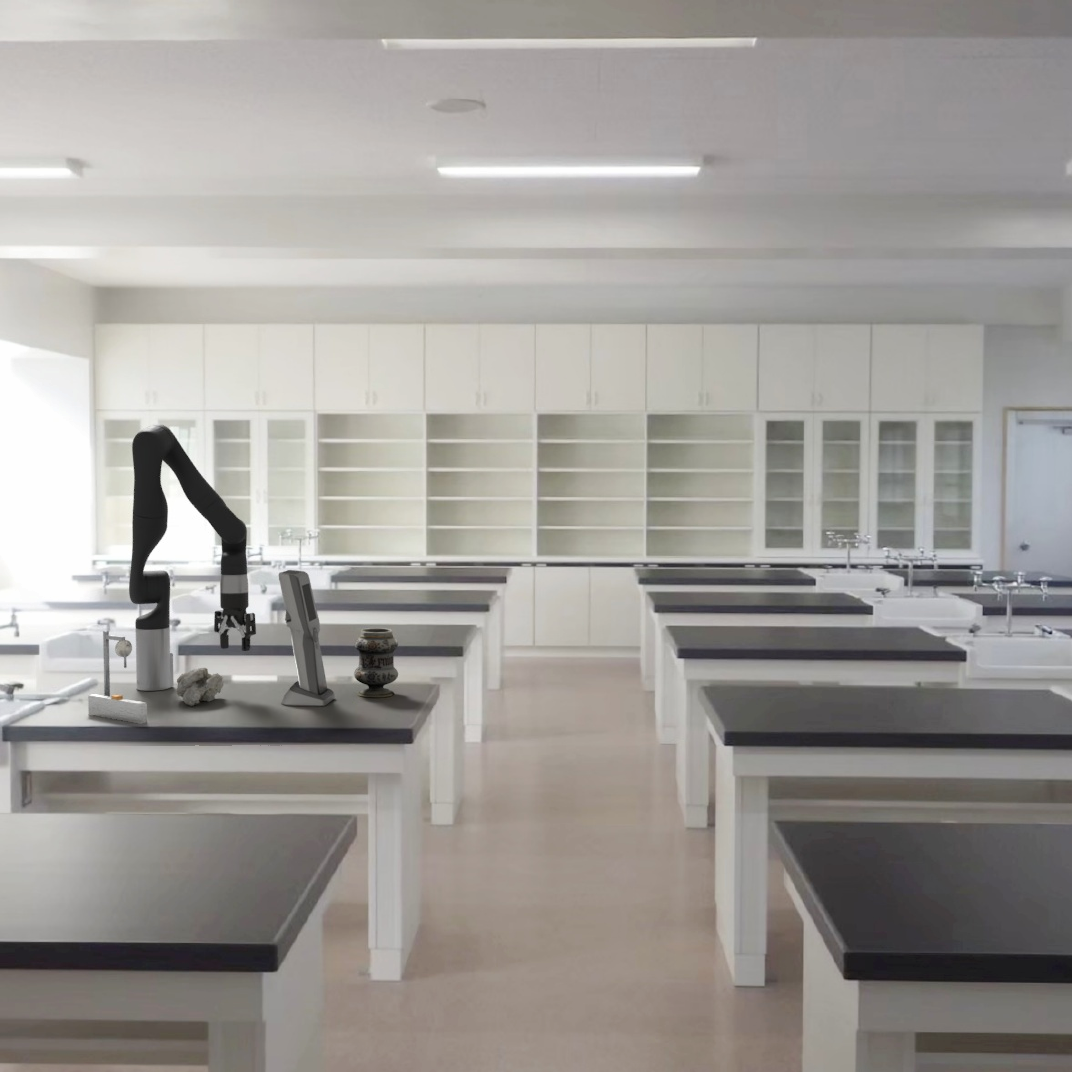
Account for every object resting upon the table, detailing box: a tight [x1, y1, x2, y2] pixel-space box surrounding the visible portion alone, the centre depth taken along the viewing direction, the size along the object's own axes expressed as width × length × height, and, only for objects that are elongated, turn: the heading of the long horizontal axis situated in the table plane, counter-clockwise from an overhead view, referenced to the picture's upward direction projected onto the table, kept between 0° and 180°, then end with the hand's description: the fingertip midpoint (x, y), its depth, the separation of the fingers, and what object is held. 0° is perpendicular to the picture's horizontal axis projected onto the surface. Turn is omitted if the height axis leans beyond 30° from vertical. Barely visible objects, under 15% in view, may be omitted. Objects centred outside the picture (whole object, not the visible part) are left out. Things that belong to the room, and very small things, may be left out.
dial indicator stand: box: [102, 630, 133, 697], centre depth 332 cm, size 6×11×20 cm, turn 57°
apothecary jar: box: [353, 627, 399, 699], centre depth 348 cm, size 12×12×18 cm
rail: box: [87, 693, 148, 725], centre depth 316 cm, size 2×20×6 cm, turn 57°
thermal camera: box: [278, 569, 336, 707], centre depth 337 cm, size 12×13×35 cm
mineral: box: [176, 667, 224, 707], centre depth 338 cm, size 12×17×10 cm
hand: (235, 649), depth 348 cm, fingers open, 8 cm apart
